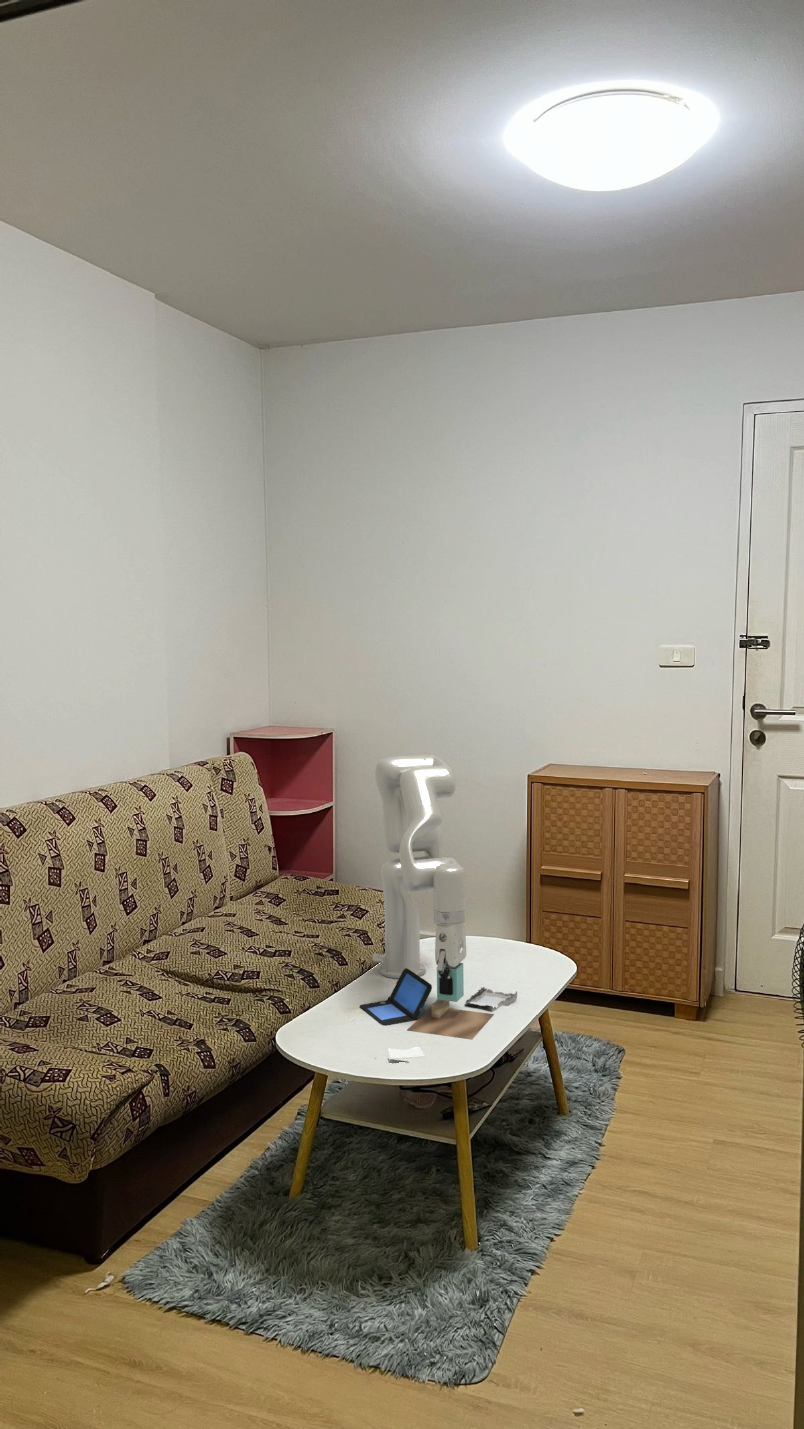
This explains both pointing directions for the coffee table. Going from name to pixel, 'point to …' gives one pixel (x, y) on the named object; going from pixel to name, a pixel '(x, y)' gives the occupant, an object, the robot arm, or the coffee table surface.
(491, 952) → the coffee table surface
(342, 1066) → the coffee table surface
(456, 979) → the teal block
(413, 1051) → the external hard drive
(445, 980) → the robot arm
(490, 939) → the coffee table surface
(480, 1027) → the walnut board
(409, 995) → the handheld game console
